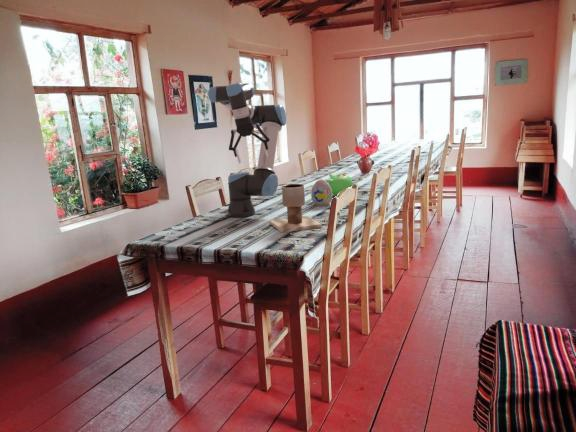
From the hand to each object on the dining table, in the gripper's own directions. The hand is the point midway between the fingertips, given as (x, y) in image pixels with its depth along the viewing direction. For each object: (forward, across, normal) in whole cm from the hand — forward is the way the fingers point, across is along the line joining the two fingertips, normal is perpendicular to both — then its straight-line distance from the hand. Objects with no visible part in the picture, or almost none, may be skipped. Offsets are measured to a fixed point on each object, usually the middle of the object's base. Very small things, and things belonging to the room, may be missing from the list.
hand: (253, 159), depth 224 cm
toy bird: (+49, +39, +59) cm, 86 cm away
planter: (+24, +15, -9) cm, 30 cm away
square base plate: (+34, +13, -11) cm, 38 cm away
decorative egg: (+44, +27, +36) cm, 62 cm away
